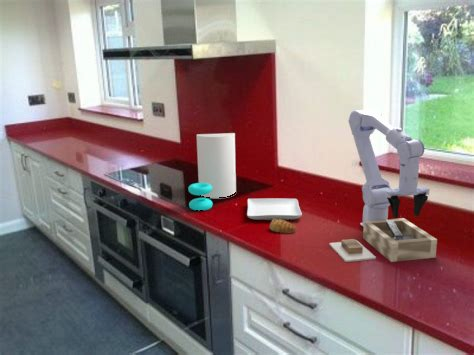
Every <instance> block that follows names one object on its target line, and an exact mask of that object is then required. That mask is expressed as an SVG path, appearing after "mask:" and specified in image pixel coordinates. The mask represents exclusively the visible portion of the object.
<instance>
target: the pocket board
mask: <svg viewBox="0 0 474 355" xmlns="http://www.w3.org/2000/svg"><path fill="white" fill-rule="evenodd" d="M388 220H393V221H394V222H395V224H396V226H397V227H398V229H399V231H400V232H401V234H403V235H404V236H414V237H415V238H416V239H409V240H398V241H395V240H393V239H392V238H393V237H394V236H393V234H392V233H391V231H390V229H389V227H388V226H387V224H386V221H388ZM362 227H363V226H362ZM362 239H364V240H365V241H366V242H367V243H368V244H369V245H370V246H372V247H373V248H374V249H375V250H376V251H377V252H378V253H380V254H381V255H382V256H383V257H384V258H386V260H388V261H390V262H391V263H395V262H405V261H413V260H423V259H431V258H432V259H433V258H437V257H436V256H437V247H438V246H437V245H438V239H437V238H435V237H434V236H432V235H431V234H430V233H428V232H427V231H425V230H424V229H422V228H420V227H418V226H417V225H415V223H412V222H410V221H409V220H408V219H406V218H404V217H402V218H391V219H387V220H378V221H367V222H364V227H363V233H362Z"/></svg>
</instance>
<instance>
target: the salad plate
mask: <svg viewBox="0 0 474 355" xmlns="http://www.w3.org/2000/svg"><path fill="white" fill-rule="evenodd" d="M246 202H247V211H246V216H247V217H248V218H249V219H251V220H257V221H272V220H273V219H277V220H279V219H281V220H285V221H288V220H289V219H290V220H297V219H299V218H301V217H302V215H303V213H302V210H301V208H300V206H299V200H298V199H297V198H273V197H272V198H271V197H270V198H269V197H268V198H248V199H247V201H246Z"/></svg>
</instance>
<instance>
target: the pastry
mask: <svg viewBox="0 0 474 355" xmlns="http://www.w3.org/2000/svg"><path fill="white" fill-rule="evenodd" d="M269 229H270V230H271V231H272V232H276V233H279V232H280V233H281V232H283V233H282V234H290V233H291V234H293V233H295V232H296V229H297V227H296V225H294V224H293V223H291V222H290V221H288V220H281V219H279V220H277V219H273V220H271V222H270V223H269Z"/></svg>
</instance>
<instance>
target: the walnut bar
mask: <svg viewBox="0 0 474 355" xmlns="http://www.w3.org/2000/svg"><path fill="white" fill-rule="evenodd" d="M357 241H358V240H356V239H355V238H350V239H349V238H348V239H341V241H340V242H341V246H342V247H343V248H344V249H345V250H346V251H347V252H348V254H356V253H363V247H362V246H361V245H360V244H359V243H360V242H359V241H358V242H359V243H358V242H357Z"/></svg>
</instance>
